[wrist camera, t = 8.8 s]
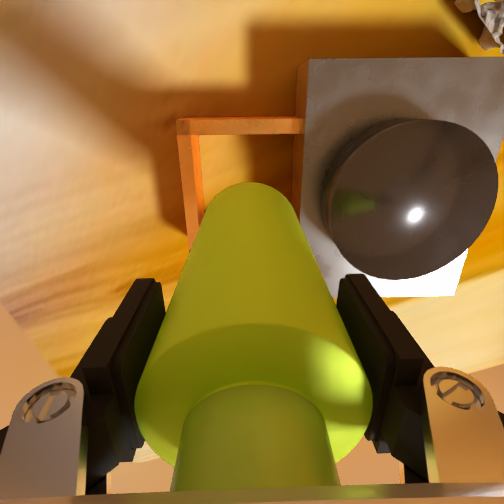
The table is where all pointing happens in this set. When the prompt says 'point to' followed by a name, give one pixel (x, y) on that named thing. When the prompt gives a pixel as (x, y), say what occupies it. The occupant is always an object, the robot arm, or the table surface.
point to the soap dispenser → (252, 357)
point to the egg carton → (487, 20)
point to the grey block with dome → (381, 165)
